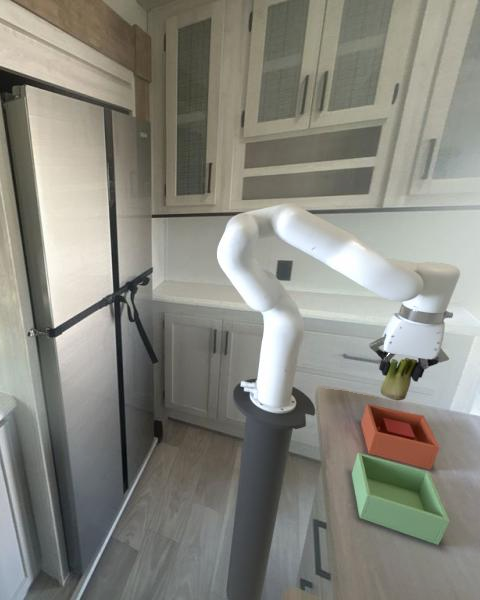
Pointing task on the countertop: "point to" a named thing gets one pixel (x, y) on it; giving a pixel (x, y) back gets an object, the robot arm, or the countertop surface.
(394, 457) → the terracotta bin
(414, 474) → the sage bin
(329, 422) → the countertop surface
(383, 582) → the countertop surface
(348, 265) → the robot arm
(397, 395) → the fennel bulb
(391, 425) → the red block
